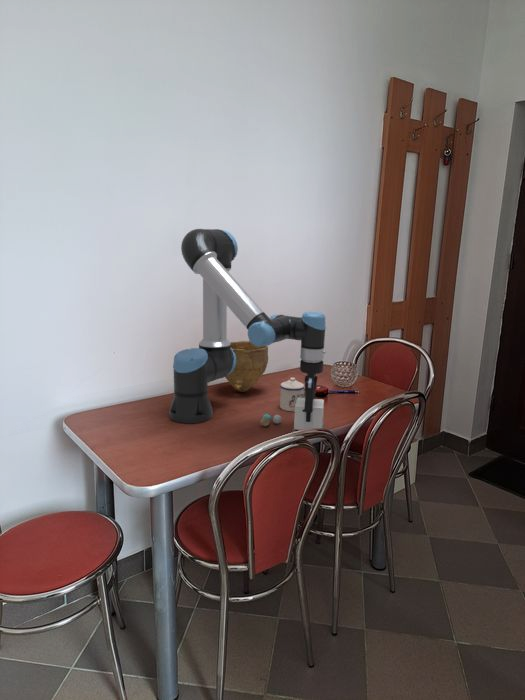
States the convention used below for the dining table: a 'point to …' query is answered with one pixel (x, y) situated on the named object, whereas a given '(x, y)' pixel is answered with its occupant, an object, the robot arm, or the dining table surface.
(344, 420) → the dining table surface
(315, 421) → the cover
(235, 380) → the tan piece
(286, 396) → the teacup with lid
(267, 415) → the teal ball
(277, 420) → the grey ball
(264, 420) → the cork ball
